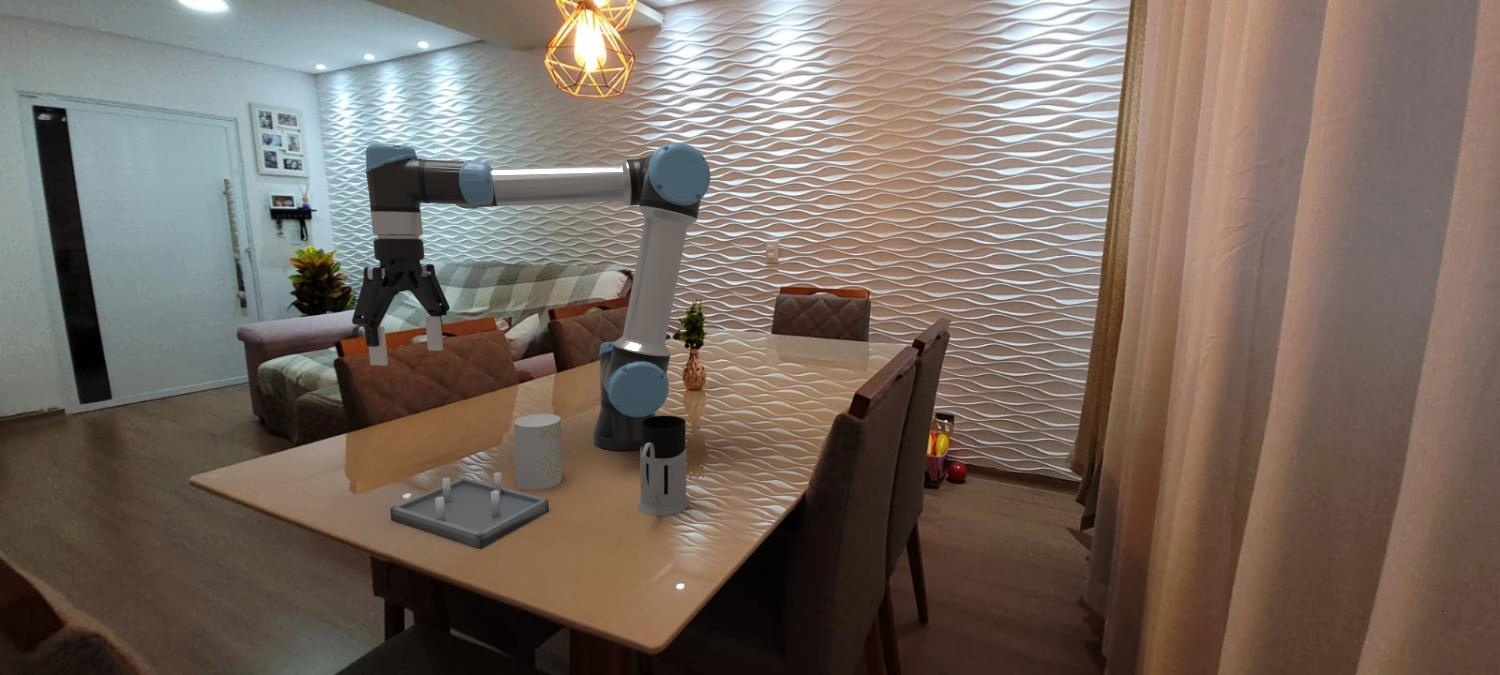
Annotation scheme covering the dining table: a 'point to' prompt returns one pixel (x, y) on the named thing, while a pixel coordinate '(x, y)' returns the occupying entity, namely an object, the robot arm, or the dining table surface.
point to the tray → (470, 510)
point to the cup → (538, 451)
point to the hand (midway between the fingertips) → (409, 357)
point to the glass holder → (663, 466)
